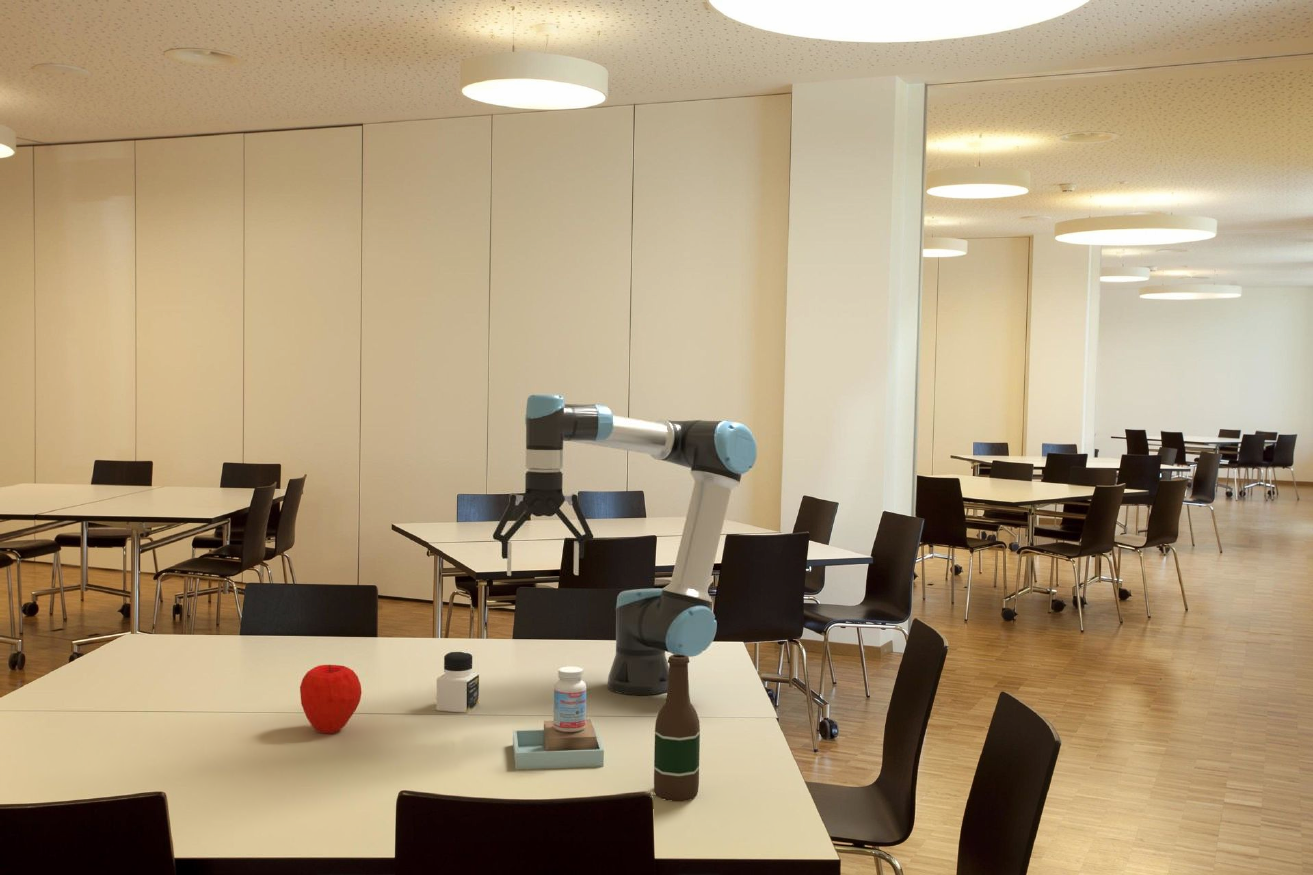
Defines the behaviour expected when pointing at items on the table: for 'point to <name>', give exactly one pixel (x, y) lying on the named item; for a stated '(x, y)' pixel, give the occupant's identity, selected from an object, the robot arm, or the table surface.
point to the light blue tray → (551, 753)
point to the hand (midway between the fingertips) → (542, 574)
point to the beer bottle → (677, 738)
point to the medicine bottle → (457, 684)
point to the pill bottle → (570, 700)
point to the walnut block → (569, 738)
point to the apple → (330, 696)
